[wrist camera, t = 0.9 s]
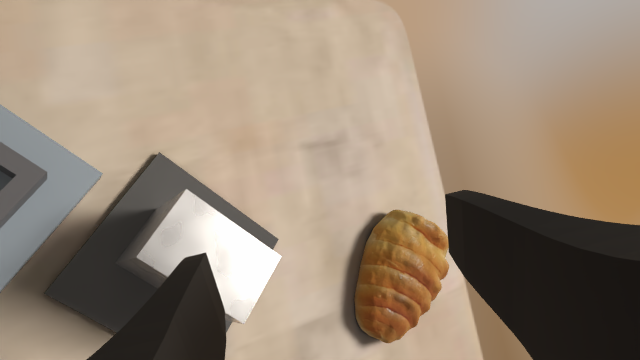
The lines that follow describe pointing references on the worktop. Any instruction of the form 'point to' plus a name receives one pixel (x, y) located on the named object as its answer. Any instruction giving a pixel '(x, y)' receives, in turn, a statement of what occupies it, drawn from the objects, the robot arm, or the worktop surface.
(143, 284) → the mat
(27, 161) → the pallet
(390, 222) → the pastry
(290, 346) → the worktop surface
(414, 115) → the worktop surface
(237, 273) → the metal billet
